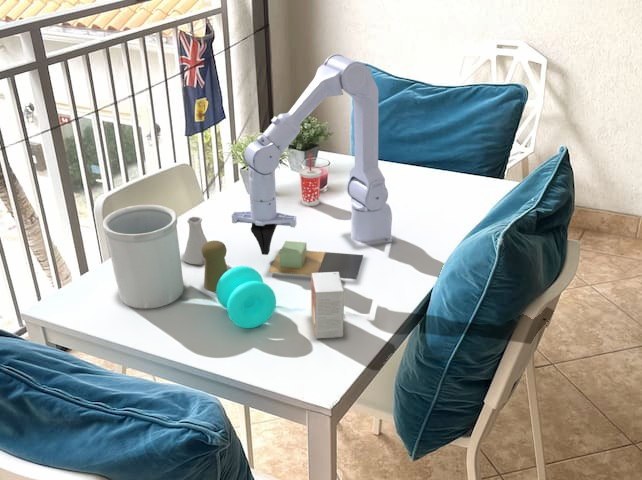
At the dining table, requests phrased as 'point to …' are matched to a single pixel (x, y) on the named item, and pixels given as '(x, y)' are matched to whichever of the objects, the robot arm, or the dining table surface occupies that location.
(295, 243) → the sage block
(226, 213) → the dining table surface
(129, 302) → the utensil holder
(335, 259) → the board
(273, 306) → the turquoise spool
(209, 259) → the cork
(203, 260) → the flask
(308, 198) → the beverage cup
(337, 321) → the small box
